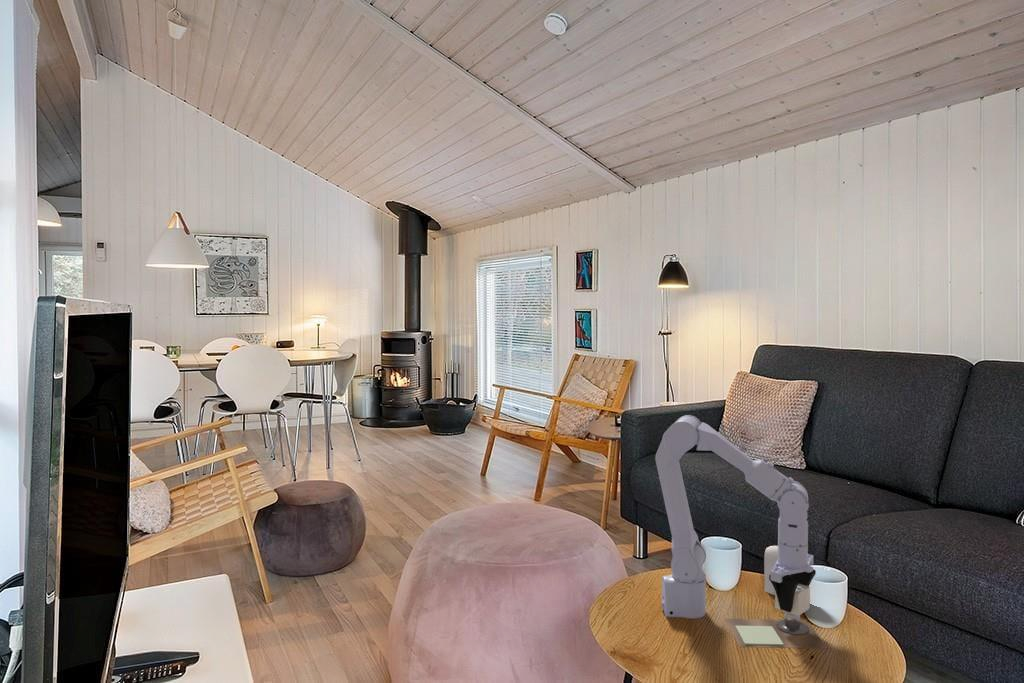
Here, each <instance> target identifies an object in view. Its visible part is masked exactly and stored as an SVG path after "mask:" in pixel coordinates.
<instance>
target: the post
mask: <svg viewBox="0 0 1024 683" xmlns="http://www.w3.org/2000/svg"><path fill="white" fill-rule="evenodd" d="M779 620H780V621H778V622H777V623H776V627H777V628H778V629H779V630H781V631H783V632H785V633H788V634H793V635H803V634H807V633H808V632H809V627H808V626H807V625H806V624H804V623H802V622H800V620H801V615H799V616H797V615H794V614H791V613H788V612H785V611H784V619H779Z"/></svg>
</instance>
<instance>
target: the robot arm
mask: <svg viewBox="0 0 1024 683" xmlns="http://www.w3.org/2000/svg"><path fill="white" fill-rule="evenodd" d="M700 420H701V419H699V418H697V417H696V416H694V415H692V414H691V415H690V414H686V415H683V416H681V417H679V418H677V420H675V422H674V423H672V424H671V425H670V426H669V427H668V428H667V430H666V431H664V433H663V435H662V439H661V441H660V443H659V445H658V449H657V451H656V453H655V464H656V469H657V473H658V478H659V482H660V488H661V492H662V496H663V502H664V506H665V511H666V516H667V520H668V523H669V529H670V534H671V546H670V547H671V550H670V551H671V554H672V559H671V562H670V570H671V574H669V575H668V574H667V575H663V576H662V577H661V610H662V611H663V613H664V616H665V617H667V618H685V619H700V618H703V617H704V616H706V613H707V612H706V611H707V608H706V605H707V601H706V599H707V596H706V595H707V594H706V591H707V589H706V586H707V583H706V582H707V581H706V580H707V579H706V573H705V572H704V570H703V564H705V561H706V559H707V554H706V550H705V548H704V546H703V545H702V544H701V542H700V541H699V535H698V534H697V532H696V530H695V529H694V524H693V519H692V514H691V511H690V505H689V501H688V497H687V491H686V488H685V482H684V479H683V474H682V470H681V464H680V460H681V458H682V457H683V456H684V455H685V453H686V452H688V451H689V450H692V448H694V446H697V447H696V451H710V452H711V451H712V452H713V453H714V454H716V455H717V456H719V457H720V458H722V459H724V460H725V461H727V463H729V464H730V465H732V466H734V467H735V468H736V469H738V470H740V471H741V472H742V473H743V474H744V477H745V482H746V483H748V484H749V485H751V486H752V487H753V488H755V489H756V490H757V491H759V492H760V493H761V494H763V495H764V496H765V497H767V499H769V500H771V501H773V502H776V503H777V507H778V510H779V517H778V519H777V520H778V521H777V546H778V560H777V562H776V564H775V567H774V569H773V570H772V571H771V574H770V575H769V580H770V581H771V583H772V585H773V587H774V589H775V591H776V594H777V598H778V602H779V606H780V609H781V610H780V611H782V610H784V611H783V612H785V611H787V612H791V611H792V607H793V599H794V594H795V590H796V588H797V586H798V584H802V585H806V586H809V585H811V583H812V580H813V578H814V577H815V576H816V575H817V574H816V572H817V571H816V569H814V567H813V566H812V565H814V554H809V553H808V552H809V551H808V550H809V543H808V542H809V522H808V510H809V507H810V504H809V494H808V491H807V489H806V488H805V487H804V486H803V485H802V483H800V482H799V481H796V480H794V479H793V478H792V477H791V476H789V477H787V476H786V475H784V473H782V472H780V471H779V470H777V469H776V468H775V464H774V463H773V462H771V460H768V461H767V462H766V461H765V460H763V459H757V460H756V459H752V458H751V457H750V456H748V455H747V454H746V453H745V452H743V451H742V450H741V449H740V448H738V447H737V446H736V445H735V444H733V443H732V442H731V441H729V440H728V439H727V438H726V437H724V436H723V435H722V434H721V433H719V432H718V431H717V430H715V429H714V428H713V427H711V425H710V424H707V423H706V422H703V421H700ZM671 612H672V613H671Z"/></svg>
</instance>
